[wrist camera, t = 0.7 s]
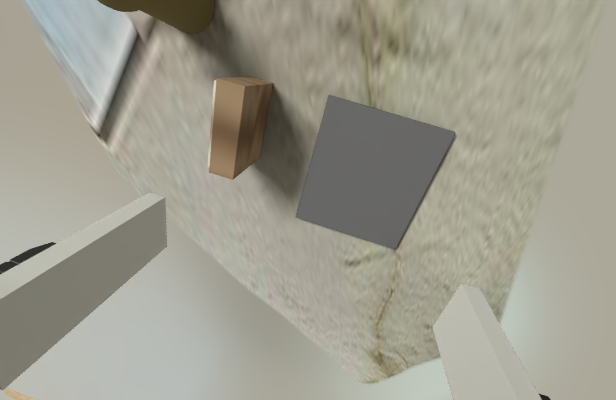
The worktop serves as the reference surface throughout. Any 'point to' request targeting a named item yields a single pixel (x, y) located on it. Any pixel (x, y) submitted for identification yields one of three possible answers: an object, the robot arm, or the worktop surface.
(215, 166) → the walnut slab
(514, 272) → the worktop surface
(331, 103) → the mat
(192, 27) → the cork
